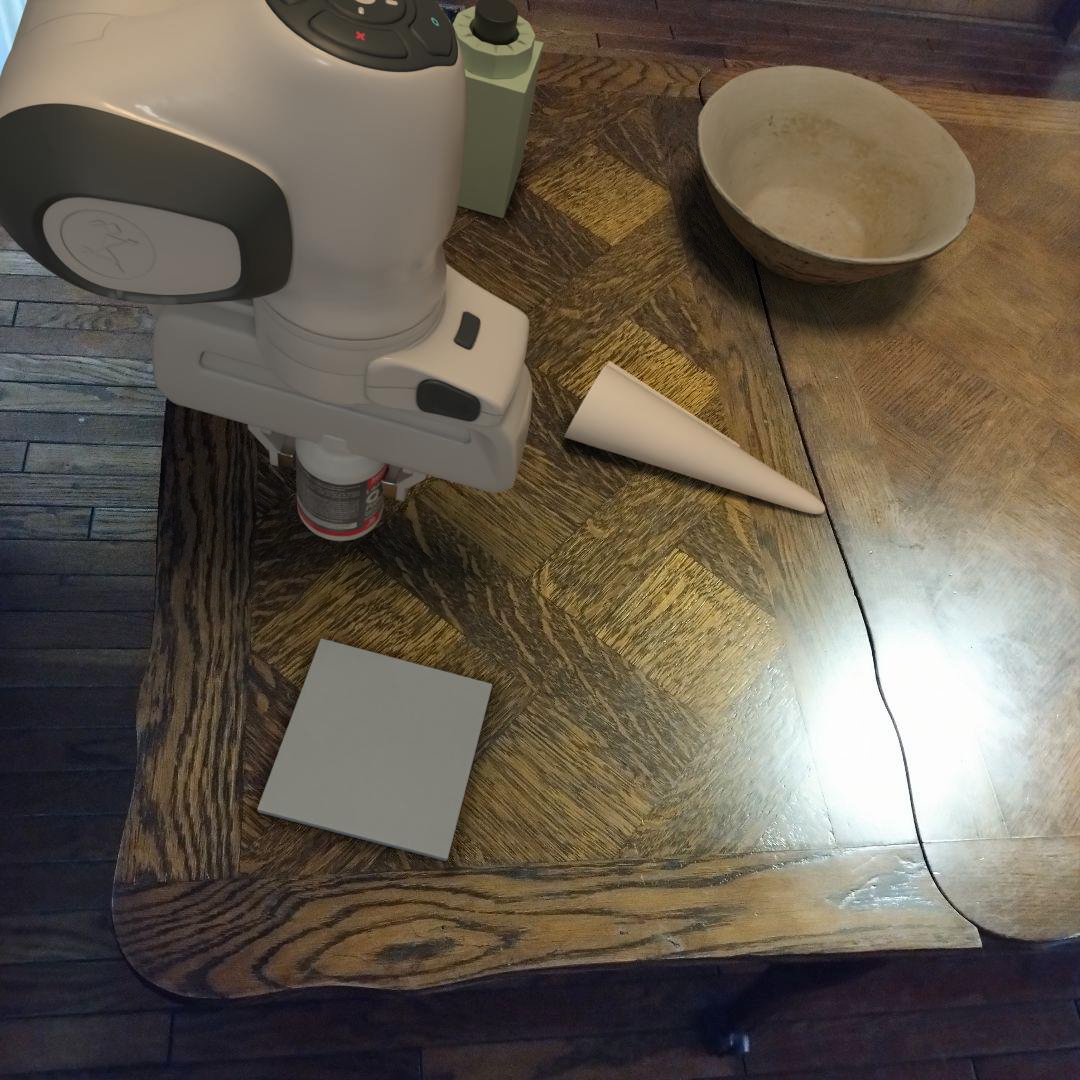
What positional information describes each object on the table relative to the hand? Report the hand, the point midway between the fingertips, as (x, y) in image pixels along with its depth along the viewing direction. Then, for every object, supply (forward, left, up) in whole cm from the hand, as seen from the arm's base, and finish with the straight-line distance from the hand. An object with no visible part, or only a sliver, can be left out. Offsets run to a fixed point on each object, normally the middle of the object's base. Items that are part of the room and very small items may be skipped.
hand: (342, 474), depth 59 cm
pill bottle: (0, 0, -4) cm, 4 cm away
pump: (0, +38, +6) cm, 38 cm away
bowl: (+29, +42, -8) cm, 51 cm away
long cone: (+23, +13, -8) cm, 27 cm away
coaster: (+7, -13, -7) cm, 16 cm away
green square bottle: (0, +38, -7) cm, 39 cm away
